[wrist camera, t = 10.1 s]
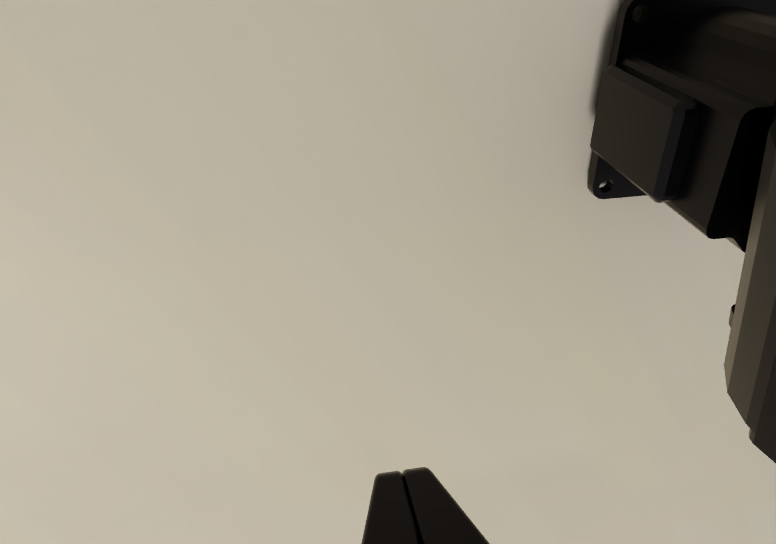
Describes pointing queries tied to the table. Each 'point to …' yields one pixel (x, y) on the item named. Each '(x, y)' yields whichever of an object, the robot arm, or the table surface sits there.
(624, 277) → the table surface
